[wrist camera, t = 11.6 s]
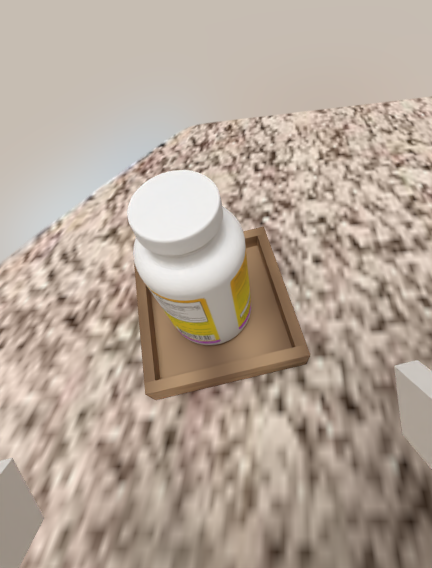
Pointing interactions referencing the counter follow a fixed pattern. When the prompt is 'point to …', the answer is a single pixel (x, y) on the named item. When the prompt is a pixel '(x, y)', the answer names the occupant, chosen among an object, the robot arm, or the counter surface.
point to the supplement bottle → (191, 255)
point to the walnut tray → (234, 353)
